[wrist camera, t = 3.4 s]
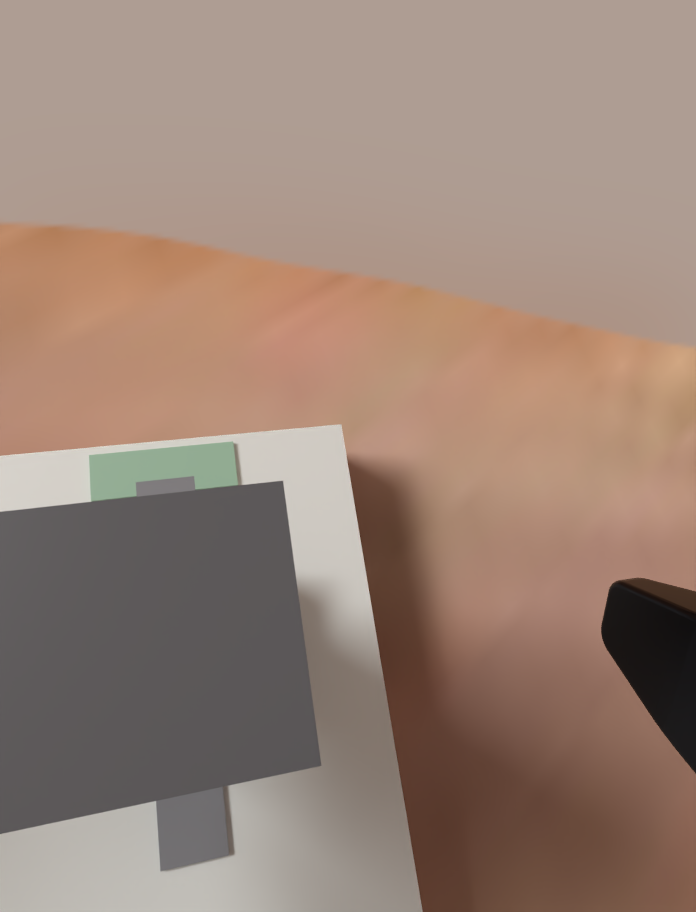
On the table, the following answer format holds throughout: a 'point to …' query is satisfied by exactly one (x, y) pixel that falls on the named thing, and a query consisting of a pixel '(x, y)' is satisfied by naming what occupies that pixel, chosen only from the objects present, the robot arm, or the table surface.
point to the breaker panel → (258, 801)
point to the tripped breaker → (148, 651)
